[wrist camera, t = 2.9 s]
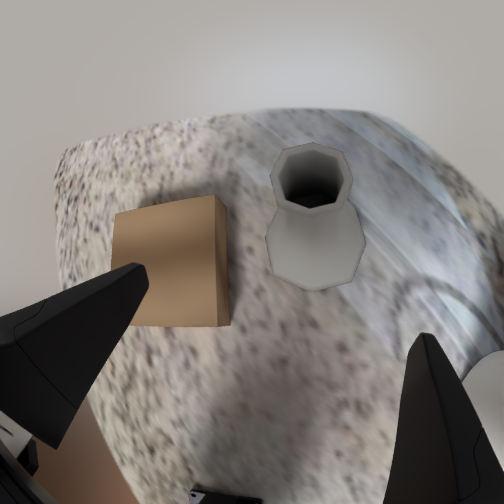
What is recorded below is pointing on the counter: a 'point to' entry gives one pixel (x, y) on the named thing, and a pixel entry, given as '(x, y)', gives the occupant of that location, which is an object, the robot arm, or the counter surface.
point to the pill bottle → (489, 398)
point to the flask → (313, 219)
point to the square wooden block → (178, 261)
